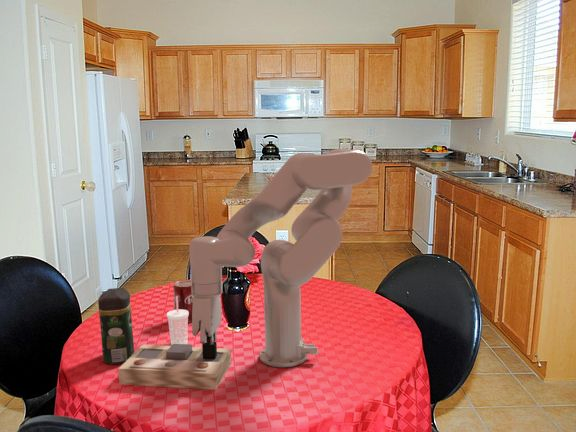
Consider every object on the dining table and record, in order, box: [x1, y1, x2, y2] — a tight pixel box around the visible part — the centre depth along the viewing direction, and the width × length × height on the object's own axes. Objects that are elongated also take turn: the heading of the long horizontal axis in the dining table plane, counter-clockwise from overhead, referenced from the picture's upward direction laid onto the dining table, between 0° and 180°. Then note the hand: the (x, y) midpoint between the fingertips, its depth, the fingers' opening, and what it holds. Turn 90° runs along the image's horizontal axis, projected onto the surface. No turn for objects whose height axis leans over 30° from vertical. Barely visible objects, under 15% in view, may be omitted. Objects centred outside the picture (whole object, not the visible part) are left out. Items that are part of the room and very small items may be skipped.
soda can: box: [172, 279, 194, 324], centre depth 168 cm, size 7×7×12 cm
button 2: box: [198, 354, 222, 362], centre depth 133 cm, size 5×5×3 cm
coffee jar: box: [97, 287, 135, 365], centre depth 141 cm, size 10×8×19 cm
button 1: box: [137, 350, 162, 359], centre depth 135 cm, size 5×5×3 cm
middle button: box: [166, 343, 193, 360], centre depth 134 cm, size 5×5×3 cm
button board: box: [118, 344, 232, 391], centre depth 132 cm, size 24×14×4 cm, turn 82°
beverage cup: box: [166, 296, 189, 346], centre depth 150 cm, size 6×6×14 cm
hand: (209, 357), depth 133 cm, fingers closed
